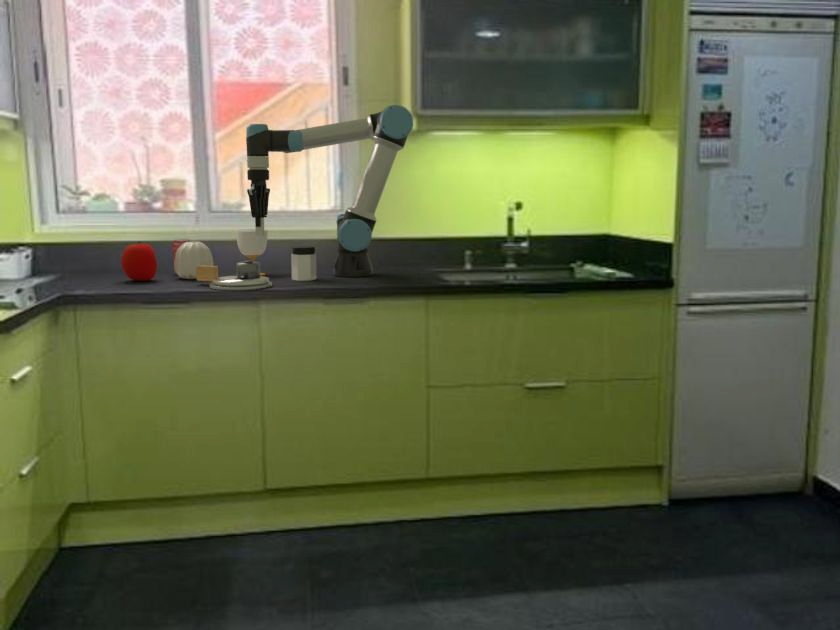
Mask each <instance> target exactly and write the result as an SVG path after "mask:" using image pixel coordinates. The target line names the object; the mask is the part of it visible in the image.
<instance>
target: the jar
mask: <svg viewBox="0 0 840 630" xmlns="http://www.w3.org/2000/svg"><path fill="white" fill-rule="evenodd" d="M291 250H292V251H291V255H290V257H291V261H290V263H291V265H290V266H291V280H292V281H298V282H309V281H310V282H311V281H316V280H317V254H316V248H315V246H314V245H295V246H294V245H293V246H292V248H291Z"/></svg>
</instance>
